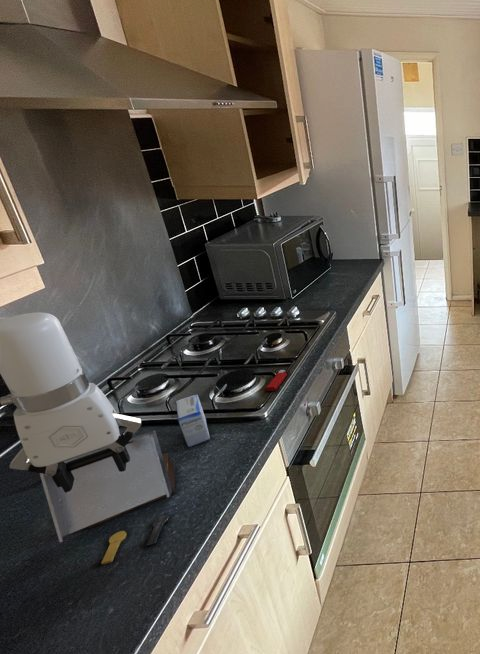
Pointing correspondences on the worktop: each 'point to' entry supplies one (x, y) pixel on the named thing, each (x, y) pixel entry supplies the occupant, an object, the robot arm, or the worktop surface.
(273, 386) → the lighter
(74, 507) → the steel dish
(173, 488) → the stand
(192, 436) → the medicine box
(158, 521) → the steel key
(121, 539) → the brass key
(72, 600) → the worktop surface
